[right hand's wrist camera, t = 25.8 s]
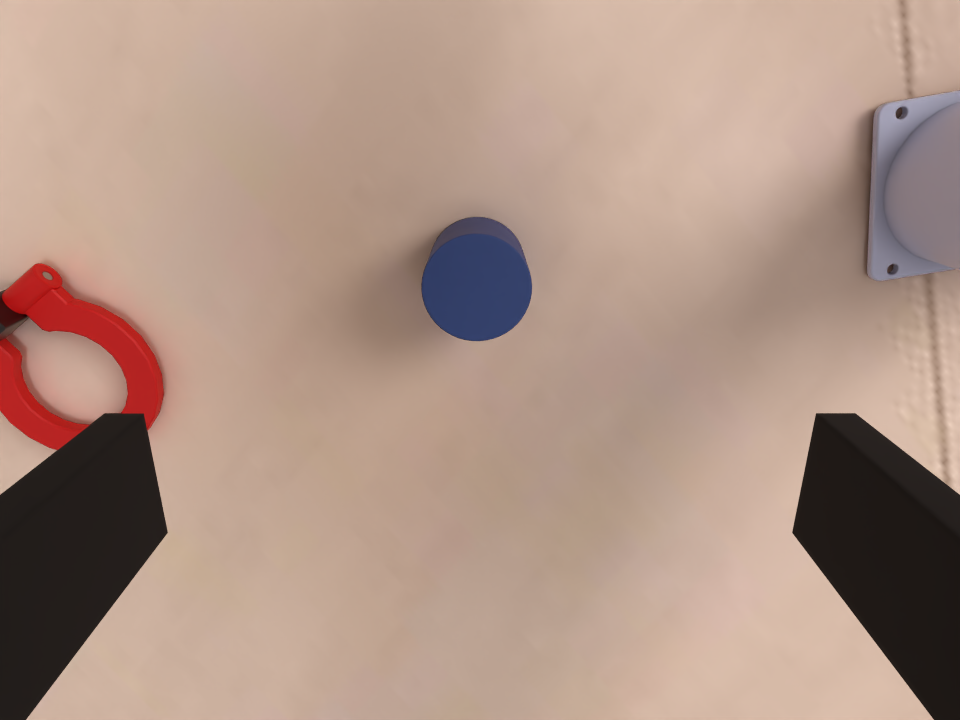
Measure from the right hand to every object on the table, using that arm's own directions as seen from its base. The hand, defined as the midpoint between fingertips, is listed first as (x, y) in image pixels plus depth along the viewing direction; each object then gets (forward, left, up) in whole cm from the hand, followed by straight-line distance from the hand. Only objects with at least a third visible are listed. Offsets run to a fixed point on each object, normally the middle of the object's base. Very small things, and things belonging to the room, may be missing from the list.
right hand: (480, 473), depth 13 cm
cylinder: (0, 0, -19) cm, 19 cm away
